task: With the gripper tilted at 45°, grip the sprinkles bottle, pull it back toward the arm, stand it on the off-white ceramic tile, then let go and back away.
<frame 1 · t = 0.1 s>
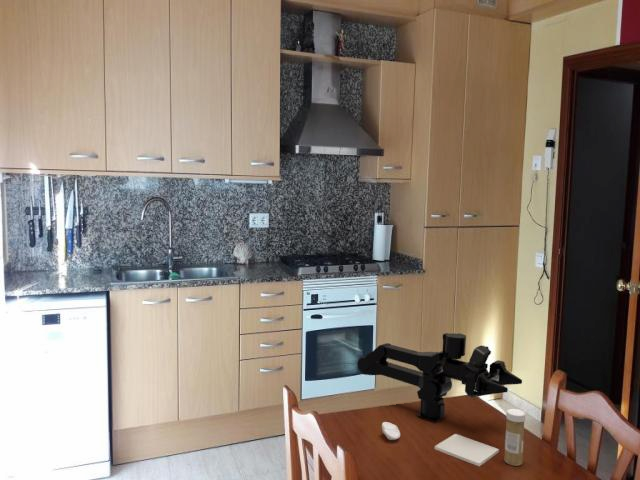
hand: (514, 385, 150), 17 cm above the table, tool horizontal, fingers open, 9 cm apart
sprinkles bottle: (512, 462, 142), on the table
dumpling: (391, 439, 154), on the table
ceramic tile: (466, 450, 148), on the table
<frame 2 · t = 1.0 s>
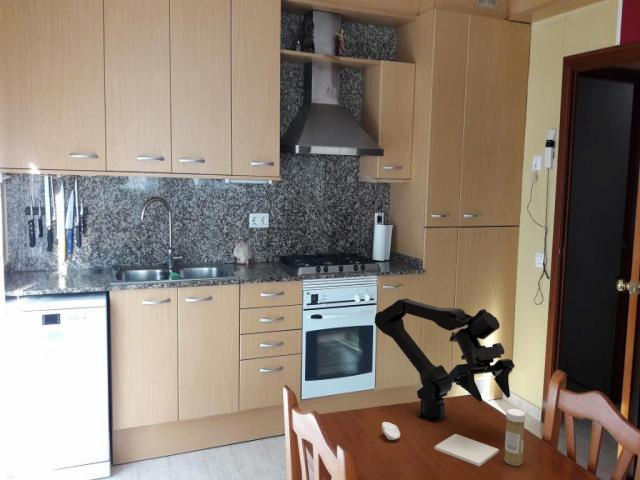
hand: (495, 399, 148), 14 cm above the table, tool tilted 45°, fingers open, 9 cm apart
nothing on the table moved.
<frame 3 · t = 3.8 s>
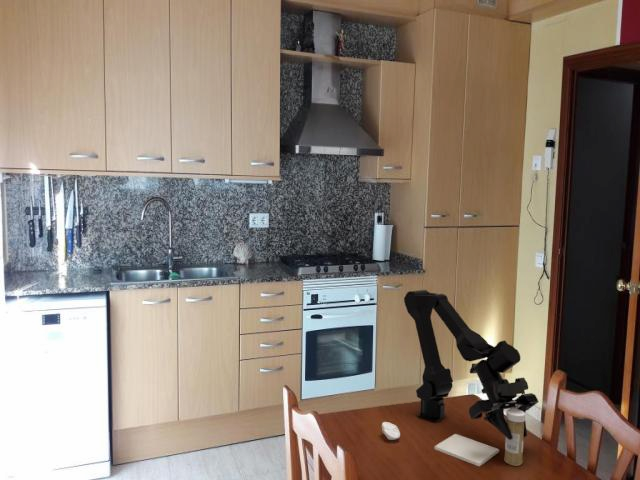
hand: (518, 437, 140), 7 cm above the table, tool tilted 45°, fingers closed on sprinkles bottle, 4 cm apart
sprinkles bottle: (512, 462, 142), on the table, touching gripper
everything else where it was.
when the fingers open (9 cm above the table, at t = 7.7 s): sprinkles bottle drops 1 cm, resting on ceramic tile.
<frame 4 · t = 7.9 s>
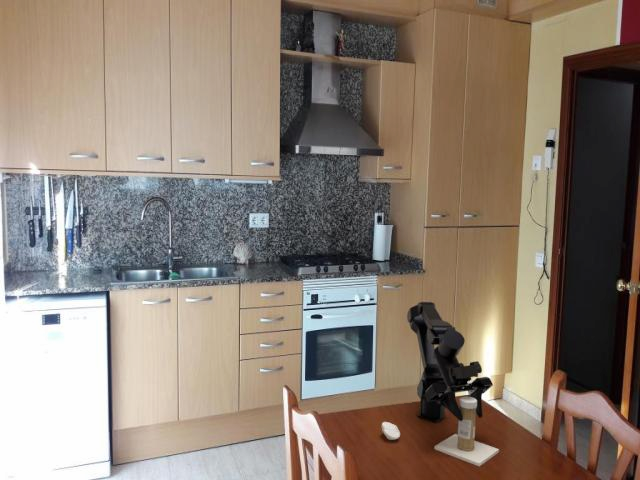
hand: (471, 419, 145), 9 cm above the table, tool tilted 45°, fingers open, 6 cm apart
sprinkles bottle: (465, 448, 148), point 1 cm above the table, touching ceramic tile
everything else where it was.
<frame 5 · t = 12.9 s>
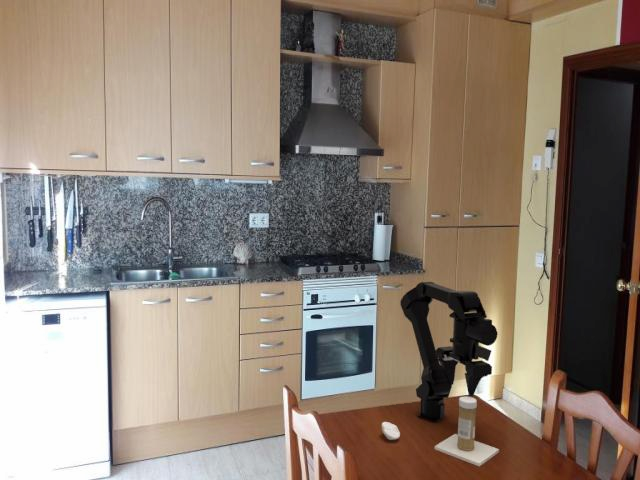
hand: (460, 390, 156), 13 cm above the table, tool pointing down, fingers open, 9 cm apart
nothing on the table moved.
at the end: sprinkles bottle inside the target area on the ceramic tile (0.3 cm from its centre), point 0.6 cm above the ceramic tile's base; sprinkles bottle tilted 0°; the gripper is holding nothing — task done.
